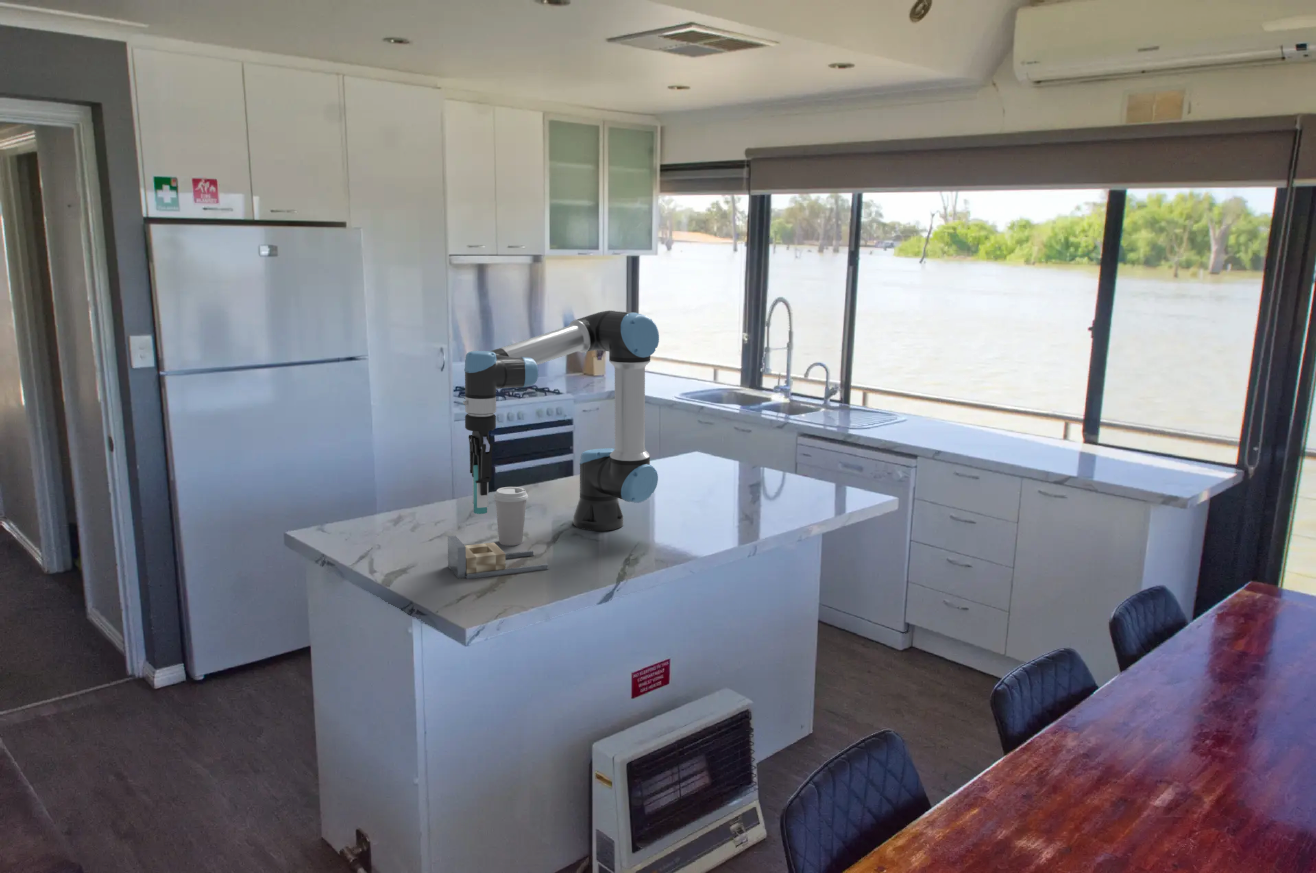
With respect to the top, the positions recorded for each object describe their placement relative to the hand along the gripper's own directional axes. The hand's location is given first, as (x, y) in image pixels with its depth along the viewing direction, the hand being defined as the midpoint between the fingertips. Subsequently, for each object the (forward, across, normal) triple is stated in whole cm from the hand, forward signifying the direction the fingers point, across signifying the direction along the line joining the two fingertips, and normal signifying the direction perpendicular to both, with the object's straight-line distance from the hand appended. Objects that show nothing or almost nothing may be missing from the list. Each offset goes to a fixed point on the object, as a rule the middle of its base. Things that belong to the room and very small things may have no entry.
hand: (480, 504), depth 235 cm
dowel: (+2, 0, 0) cm, 2 cm away
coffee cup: (+17, -19, +14) cm, 29 cm away
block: (+17, 0, 0) cm, 17 cm away
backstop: (+17, 0, +5) cm, 18 cm away
